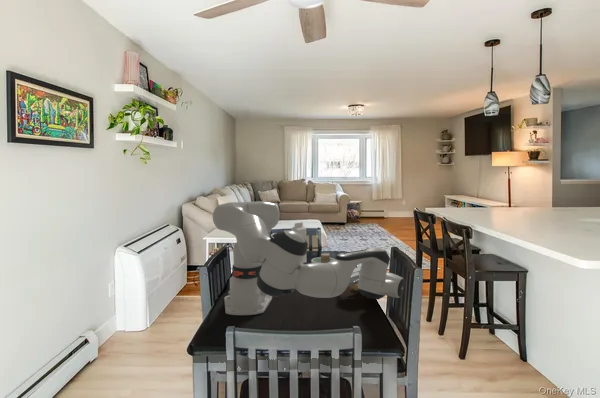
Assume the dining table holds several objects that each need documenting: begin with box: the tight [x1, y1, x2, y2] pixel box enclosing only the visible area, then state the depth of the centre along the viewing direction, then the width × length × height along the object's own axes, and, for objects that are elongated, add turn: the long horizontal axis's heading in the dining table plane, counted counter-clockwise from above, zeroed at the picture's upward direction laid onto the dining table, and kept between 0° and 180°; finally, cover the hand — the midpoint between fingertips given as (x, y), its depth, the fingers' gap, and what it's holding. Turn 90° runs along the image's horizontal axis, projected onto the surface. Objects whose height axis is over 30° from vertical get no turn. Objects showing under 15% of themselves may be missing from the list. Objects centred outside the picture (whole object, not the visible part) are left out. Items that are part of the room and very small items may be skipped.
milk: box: [290, 221, 307, 264], centre depth 194 cm, size 6×6×22 cm
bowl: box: [310, 256, 334, 263], centre depth 181 cm, size 12×12×5 cm
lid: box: [320, 252, 331, 263], centre depth 164 cm, size 14×14×12 cm
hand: (343, 270), depth 155 cm, fingers open, 8 cm apart
